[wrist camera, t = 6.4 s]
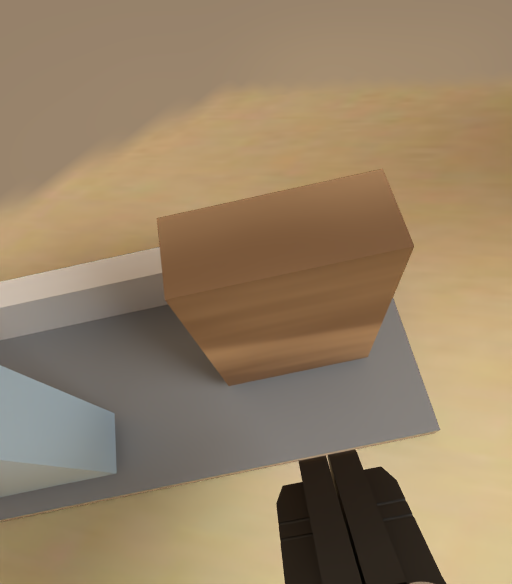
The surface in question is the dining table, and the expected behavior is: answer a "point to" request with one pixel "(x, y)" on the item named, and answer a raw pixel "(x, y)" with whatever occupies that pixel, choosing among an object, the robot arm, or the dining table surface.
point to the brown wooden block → (286, 275)
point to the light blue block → (50, 436)
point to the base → (189, 385)
